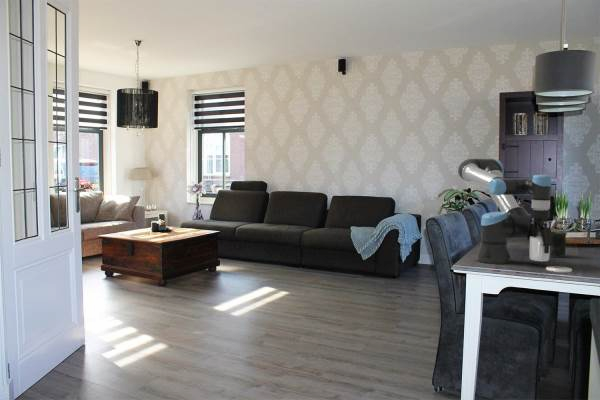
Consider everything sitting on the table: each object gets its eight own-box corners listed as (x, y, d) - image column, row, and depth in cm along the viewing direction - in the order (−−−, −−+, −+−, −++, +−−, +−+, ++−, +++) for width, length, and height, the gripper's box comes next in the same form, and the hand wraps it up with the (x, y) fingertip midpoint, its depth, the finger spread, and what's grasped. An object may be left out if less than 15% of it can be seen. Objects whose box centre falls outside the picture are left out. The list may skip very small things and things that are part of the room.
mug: (564, 258, 249) (564, 234, 249) (532, 255, 258) (532, 232, 257) (567, 255, 258) (568, 232, 257) (536, 252, 267) (537, 230, 266)
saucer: (553, 272, 216) (554, 270, 216) (541, 268, 226) (541, 266, 226) (576, 272, 217) (576, 270, 217) (563, 267, 227) (563, 265, 227)
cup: (549, 258, 234) (550, 236, 233) (549, 263, 223) (550, 240, 222) (529, 257, 237) (530, 235, 236) (528, 261, 226) (529, 239, 226)
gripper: (563, 212, 217) (560, 263, 219) (535, 206, 240) (533, 252, 242) (546, 212, 217) (543, 263, 219) (520, 206, 240) (518, 253, 242)
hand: (538, 257), depth 230 cm, fingers closed on cup, 10 cm apart
